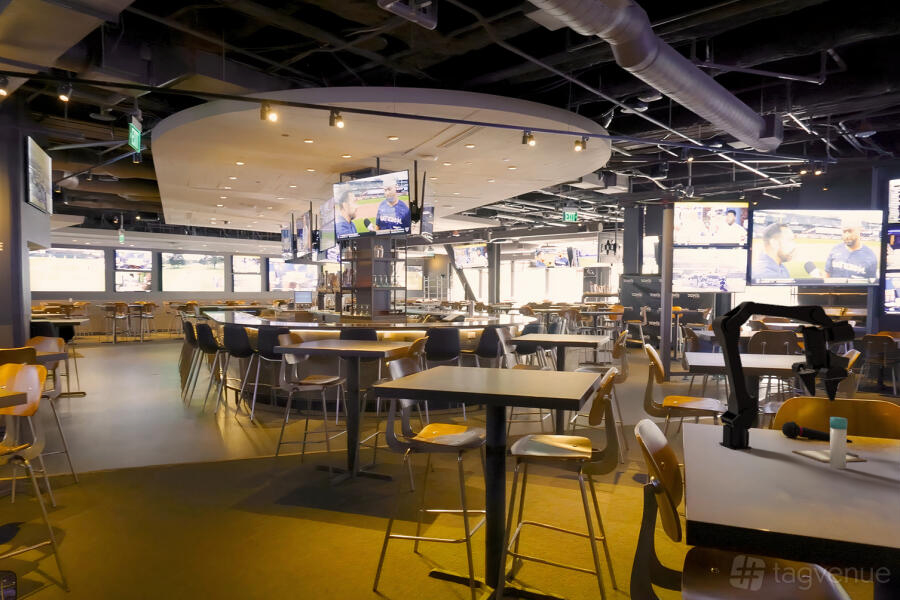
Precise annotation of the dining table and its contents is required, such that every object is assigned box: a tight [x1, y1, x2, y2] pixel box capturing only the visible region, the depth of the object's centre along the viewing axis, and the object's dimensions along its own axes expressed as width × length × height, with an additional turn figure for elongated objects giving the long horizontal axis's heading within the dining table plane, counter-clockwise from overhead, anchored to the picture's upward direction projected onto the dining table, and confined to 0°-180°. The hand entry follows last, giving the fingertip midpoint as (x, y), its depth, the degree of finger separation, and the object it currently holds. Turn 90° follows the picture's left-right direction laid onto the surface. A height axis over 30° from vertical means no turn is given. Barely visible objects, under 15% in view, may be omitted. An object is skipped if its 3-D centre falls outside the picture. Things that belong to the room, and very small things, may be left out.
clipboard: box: [791, 449, 868, 464], centre depth 162 cm, size 14×11×1 cm
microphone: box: [781, 421, 853, 444], centre depth 184 cm, size 6×6×20 cm
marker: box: [829, 416, 848, 470], centre depth 151 cm, size 4×4×13 cm
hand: (822, 398), depth 170 cm, fingers open, 9 cm apart
